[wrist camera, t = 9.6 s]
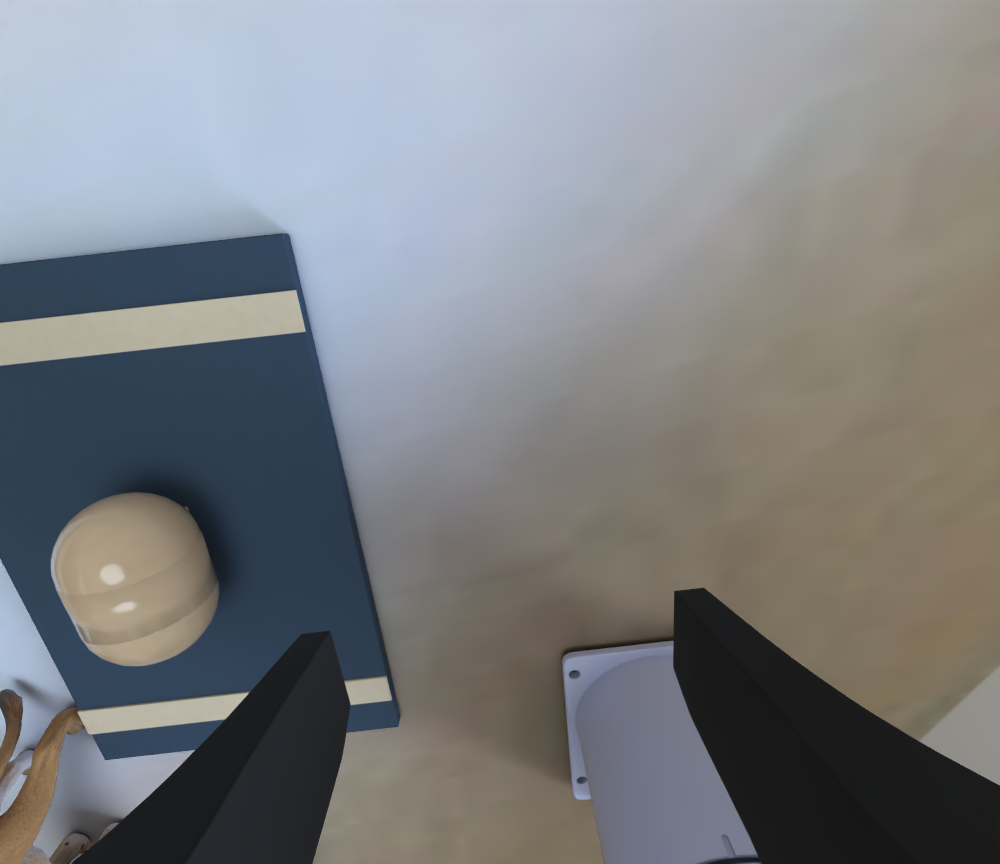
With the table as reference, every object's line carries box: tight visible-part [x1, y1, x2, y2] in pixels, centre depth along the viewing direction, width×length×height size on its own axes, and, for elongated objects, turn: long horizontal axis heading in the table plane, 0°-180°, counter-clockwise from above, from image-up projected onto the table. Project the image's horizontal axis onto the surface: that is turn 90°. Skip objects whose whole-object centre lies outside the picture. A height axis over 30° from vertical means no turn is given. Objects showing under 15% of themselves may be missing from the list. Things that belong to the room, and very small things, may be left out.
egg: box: [50, 492, 220, 667], centre depth 19 cm, size 6×4×4 cm
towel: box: [0, 234, 400, 760], centre depth 21 cm, size 22×14×1 cm, turn 6°
